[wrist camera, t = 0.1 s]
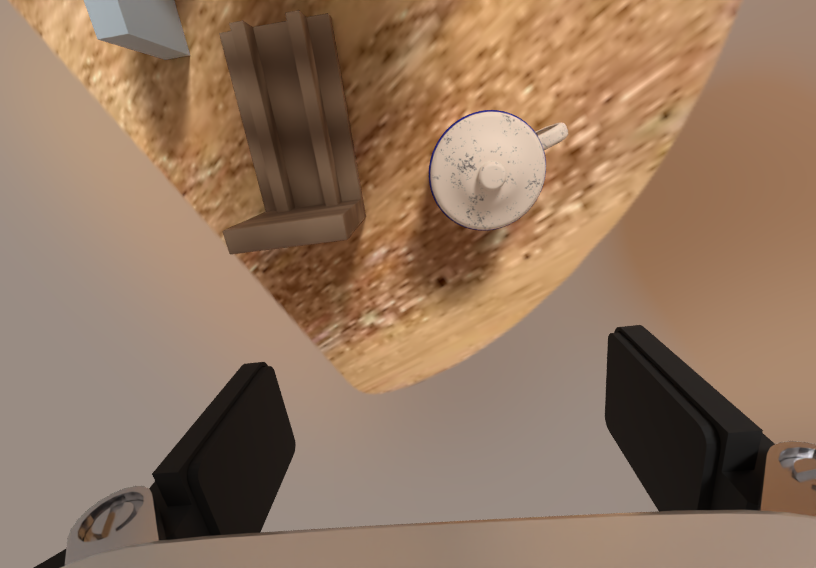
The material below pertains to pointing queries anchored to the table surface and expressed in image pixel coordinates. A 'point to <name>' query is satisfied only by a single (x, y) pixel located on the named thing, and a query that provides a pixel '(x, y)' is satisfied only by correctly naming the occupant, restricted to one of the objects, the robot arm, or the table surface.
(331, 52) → the track
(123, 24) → the door panel
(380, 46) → the table surface
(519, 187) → the teacup with lid
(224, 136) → the table surface
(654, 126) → the table surface
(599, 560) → the robot arm
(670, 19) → the table surface
